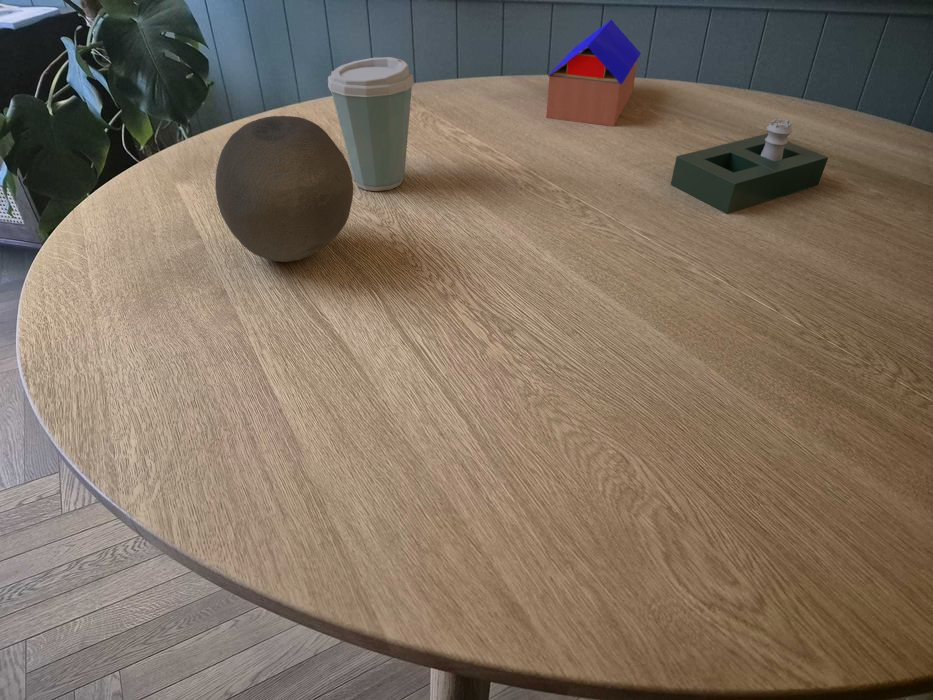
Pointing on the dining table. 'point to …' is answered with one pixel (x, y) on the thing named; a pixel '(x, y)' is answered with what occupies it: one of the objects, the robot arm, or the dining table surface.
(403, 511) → the dining table surface
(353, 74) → the disposable coffee cup
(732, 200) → the peg block
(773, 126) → the rook chess piece
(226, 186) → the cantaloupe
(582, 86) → the house
